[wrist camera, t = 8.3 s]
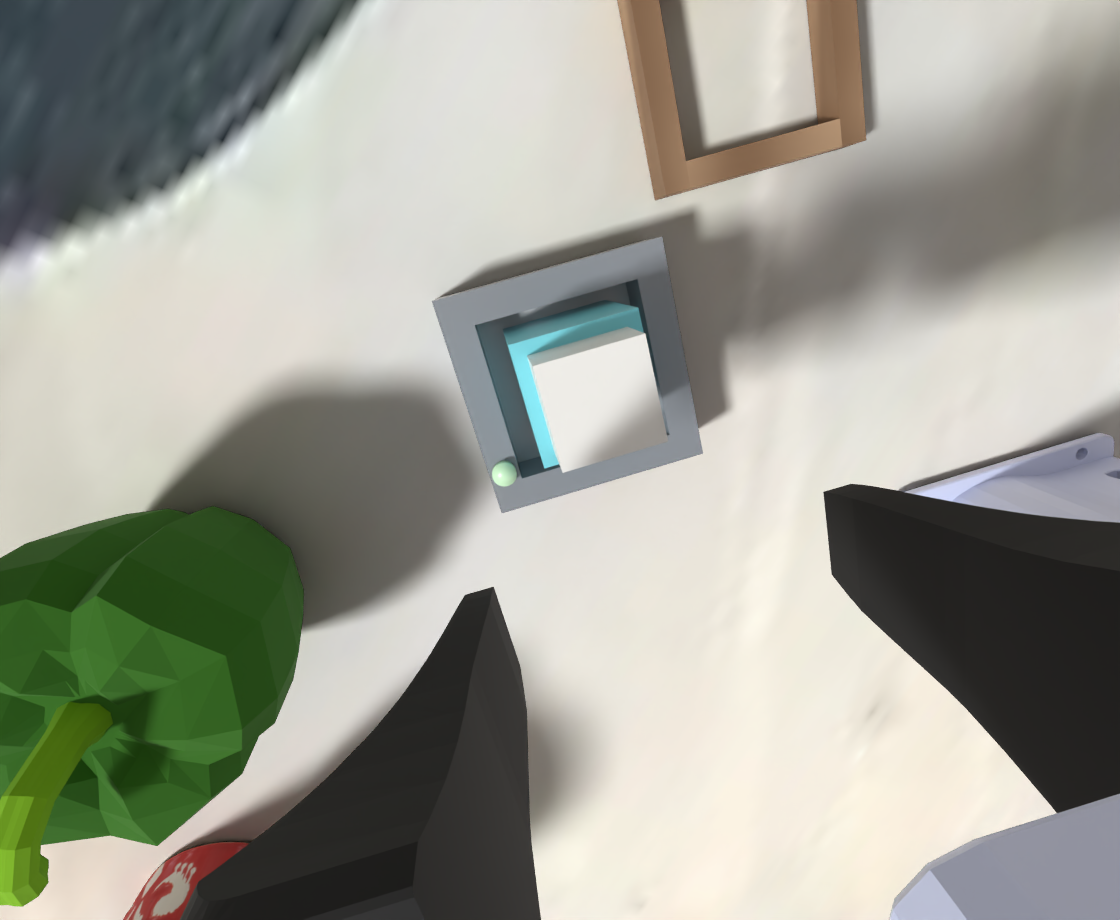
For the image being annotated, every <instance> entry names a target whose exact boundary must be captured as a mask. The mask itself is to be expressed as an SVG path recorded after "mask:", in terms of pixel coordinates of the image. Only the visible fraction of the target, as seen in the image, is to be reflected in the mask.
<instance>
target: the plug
mask: <svg viewBox="0 0 1120 920" xmlns="http://www.w3.org/2000/svg"><path fill="white" fill-rule="evenodd" d="M503 333H504V336H505V340H506V343H507V346H508V350H509V353H510V356H511V360H512V363H513V367H514V370H515V373H516V377H517V380H518V384H519V387H520V390H521V394H522V397H523V400H524V404H525V407H526V411H527V414H528V417H529V421H530V424H531V428H532V431H533V434H534V437H535V440H536V443H537V447H538V450H539V453H540V456H541V459H542V462H543V466H544V469H545V468H548V467H551V466H555V465H558V464H559V465H560V467H561V470H562V472H563V473H564V472H567V471H571V470H574V469H578V468H581V467H584V466H588V465H591V464H594V463H598V462H601V461H604V460H608V459H611V458H614V457H618V456H621V455H624V454H628V453H631V452H635V451H638V450H641V449H645V448H648V447H651V446H655V445H658V444H661V443H665V442H668V438H667V434H666V429H665V424H664V419H663V415H662V410H661V405H660V401H659V396H658V391H657V386H656V382H655V377H654V372H653V367H652V363H651V358H650V353H649V348H648V344H647V339H646V334H645V333H644V332H643V327H642V322H641V318H640V313H639V308H638V307H634V306H629V305H625V304H621V303H617V302H612V301H608V300H602V301H599V302H595V303H592V304H588V305H585V306H581V307H578V308H574V309H571V310H567V311H564V312H560V313H557V314H554V315H550V316H547V317H543V318H540V319H536V320H533V321H529V322H526V323H522V324H519V325H515V326H512V327H508V328H505V329H503Z"/></svg>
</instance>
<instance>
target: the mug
mask: <svg viewBox="0 0 1120 920" xmlns="http://www.w3.org/2000/svg"><path fill="white" fill-rule="evenodd" d="M248 844H249V843H240V842H221V843H213V844H206V845H202V846H198V847H195V848H191V849H189V850H186V851H184V852H181V853H179V854H177V855H176V856H174V857H172V858H170V859H169V860H167V861H166V862H164V863H163V864H162V865H161V866H160V867H159V868H158V869H157V870H156V871H155V872H154V873H153V874H152V875H151V877H150V878H149V879H148V881H147V882H146V884H145V885H144V887H143V888H142V890H141V892H140V893H139V895H138V897H137V898H136V900H135V902H134V903H133V905H132V907H131V908H130V910H129V911H128V912H127V914H126V915H125V917H124V919H123V920H180V918H181V916H182V914H183V912H184V910H185V908H186V905H187V903H188V901H189V899H190V897H191V895H192V893H193V891H194V889H195V887H196V885H197V883H198V881H200V880H201V879H202V878H204V877H205V876H207V875H208V874H209V873H211V872H212V871H214V870H215V869H216V868H218V867H219V866H220V865H222V864H223V863H224V862H226V861H227V860H228V859H230V858H231V857H232V856H234V855H235V854H236V853H237V852H239V851H240V850H241V849H243V848H244V847H245V846H247V845H248Z"/></svg>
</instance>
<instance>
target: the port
mask: <svg viewBox="0 0 1120 920" xmlns="http://www.w3.org/2000/svg"><path fill="white" fill-rule="evenodd" d="M602 300H608V301H612V302H617V303H621V304H625V305H629V306H634V307H638V308H639V313H640V318H641V322H642V327H643V332H644V333H645V334H646V339H647V344H648V348H649V353H650V358H651V363H652V367H653V372H654V377H655V382H656V386H657V391H658V396H659V401H660V405H661V410H662V415H663V419H664V424H665V429H666V434H667V438H668V442H665V443H661V444H658V445H655V446H651V447H648V448H645V449H641V450H638V451H635V452H631V453H628V454H624V455H621V456H618V457H614V458H611V459H608V460H604V461H601V462H598V463H594V464H591V465H588V466H584V467H581V468H578V469H574V470H571V471H567V472H564V473H563V472H562V470H561V467H560V465H559V464H558V465H555V466H551V467H548V468H545V469H544V466H543V462H542V459H541V456H540V453H539V450H538V447H537V443H536V440H535V437H534V434H533V431H532V428H531V424H530V421H529V417H528V414H527V411H526V407H525V404H524V400H523V397H522V394H521V390H520V387H519V384H518V380H517V377H516V373H515V370H514V367H513V363H512V360H511V356H510V353H509V350H508V346H507V343H506V340H505V336H504V333H503V329H505V328H508V327H512V326H515V325H519V324H522V323H526V322H529V321H533V320H536V319H540V318H543V317H547V316H550V315H554V314H557V313H560V312H564V311H567V310H571V309H574V308H578V307H581V306H585V305H588V304H592V303H595V302H599V301H602ZM432 303H433V306H434V309H435V312H436V315H437V318H438V321H439V324H440V327H441V330H442V333H443V336H444V339H445V342H446V345H447V348H448V351H449V354H450V358H451V361H452V364H453V367H454V370H455V373H456V376H457V379H458V382H459V385H460V388H461V391H462V394H463V397H464V400H465V403H466V406H467V409H468V412H469V415H470V418H471V421H472V424H473V427H474V430H475V433H476V436H477V439H478V442H479V445H480V449H481V452H482V455H483V458H484V461H485V464H486V467H487V470H488V473H489V476H490V479H491V482H492V485H493V488H494V491H495V494H496V497H497V500H498V503H499V506H500V509H501V512H502V513H505V512H508V511H511V510H515V509H518V508H521V507H525V506H528V505H531V504H535V503H538V502H542V501H545V500H548V499H552V498H555V497H558V496H562V495H565V494H568V493H572V492H575V491H579V490H582V489H585V488H589V487H592V486H595V485H599V484H602V483H605V482H609V481H612V480H615V479H619V478H622V477H626V476H629V475H632V474H636V473H639V472H642V471H646V470H649V469H652V468H656V467H659V466H663V465H666V464H669V463H673V462H676V461H679V460H683V459H686V458H689V457H693V456H696V455H699V454H703V451H702V446H701V440H700V435H699V430H698V424H697V419H696V414H695V408H694V403H693V398H692V392H691V387H690V382H689V377H688V371H687V366H686V361H685V355H684V350H683V345H682V339H681V334H680V329H679V323H678V318H677V313H676V307H675V302H674V297H673V291H672V286H671V281H670V275H669V270H668V265H667V259H666V254H665V249H664V243H663V238H662V237H657V238H652V239H647V240H642V241H639V242H635V243H632V244H628V245H625V246H621V247H618V248H614V249H610V250H607V251H603V252H600V253H596V254H593V255H589V256H586V257H582V258H579V259H575V260H571V261H568V262H564V263H561V264H557V265H554V266H550V267H547V268H543V269H539V270H536V271H532V272H529V273H525V274H522V275H518V276H515V277H511V278H508V279H504V280H500V281H497V282H493V283H490V284H486V285H483V286H479V287H476V288H472V289H468V290H465V291H461V292H458V293H454V294H451V295H447V296H444V297H440V298H437V299H435V300H434V301H432Z"/></svg>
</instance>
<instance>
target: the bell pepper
mask: <svg viewBox="0 0 1120 920" xmlns="http://www.w3.org/2000/svg"><path fill="white" fill-rule="evenodd" d="M303 604H304V589H303V586H302V583H301V580H300V577H299V574H298V571H297V567H296V564H295V561H294V558H293V555H292V552H291V549H290V548H289V547H288V546H287V545H285V544H284V543H283V542H282V541H280V540H279V539H278V538H276V537H275V536H274V535H273V534H271V533H270V532H269V531H267V530H266V529H265V528H264V527H262V526H261V525H260V524H259V523H257V522H256V521H255V520H253V519H251V518H248V517H245V516H242V515H239V514H236V513H233V512H230V511H227V510H224V509H221V508H218V507H215V506H211V507H208V508H205V509H202V510H200V511H197V512H194V513H192V514H190V515H189V514H187V513H185V512H181V511H177V510H172V509H162V510H155V511H147V512H140V513H132V514H126V515H122V516H118V517H114V518H110V519H106V520H102V521H98V522H94V523H90V524H86V525H83V526H80V527H76V528H73V529H70V530H67V531H64V532H61V533H58V534H54V535H51V536H48V537H45V538H42V539H39V540H36V541H32V542H29V543H26V544H24V545H23V546H21V547H19V548H17V549H15V550H14V551H12V552H10V553H8V554H7V555H5V556H3V557H1V558H0V905H11V906H24V905H26V904H27V903H29V902H30V901H32V900H34V899H35V898H37V897H38V896H39V895H40V893H41V892H42V891H43V889H44V888H45V886H46V885H47V884H48V875H47V873H48V868H49V862H48V859H47V858H45V857H44V856H42V855H41V854H40V849H41V845H45V844H52V843H59V842H67V841H74V840H81V839H88V838H96V837H103V836H110V835H111V836H115V837H120V838H124V839H128V840H133V841H137V842H142V843H146V844H151V845H155V846H158V845H159V844H160V843H161V842H163V841H164V840H165V839H166V838H167V837H168V836H170V835H171V834H172V833H173V832H174V831H176V830H177V829H178V828H179V827H180V826H182V825H183V824H184V823H185V822H186V821H187V820H189V819H190V818H191V817H192V816H193V815H195V814H196V813H197V812H198V811H199V810H200V809H202V808H203V807H204V806H205V805H206V804H207V803H209V802H210V801H211V800H212V799H213V798H214V797H216V796H217V795H218V794H219V793H220V792H221V791H223V790H224V789H225V788H226V787H227V786H228V785H230V784H231V783H232V782H233V781H234V780H235V779H237V778H238V777H239V776H240V775H241V774H242V773H243V771H244V768H245V766H246V764H247V762H248V759H249V757H250V755H251V753H252V751H253V748H254V746H255V744H256V742H257V739H258V737H259V736H260V735H261V734H262V733H263V732H264V731H266V730H267V729H268V728H269V727H270V726H272V725H273V724H274V723H275V721H276V719H277V716H278V714H279V712H280V709H281V707H282V705H283V702H284V700H285V698H286V695H287V693H288V690H289V688H290V686H291V683H292V681H293V678H294V673H295V668H296V662H297V657H298V652H299V644H300V636H301V629H302V621H303Z"/></svg>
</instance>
